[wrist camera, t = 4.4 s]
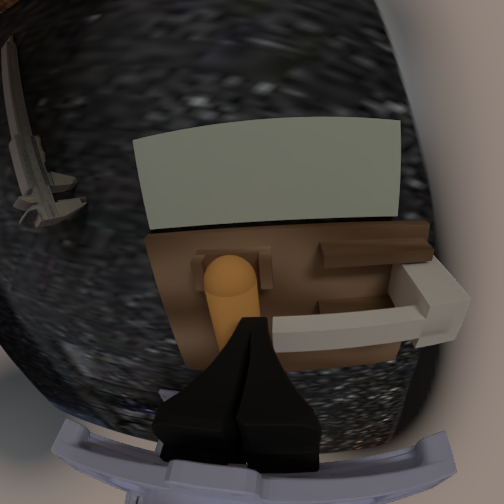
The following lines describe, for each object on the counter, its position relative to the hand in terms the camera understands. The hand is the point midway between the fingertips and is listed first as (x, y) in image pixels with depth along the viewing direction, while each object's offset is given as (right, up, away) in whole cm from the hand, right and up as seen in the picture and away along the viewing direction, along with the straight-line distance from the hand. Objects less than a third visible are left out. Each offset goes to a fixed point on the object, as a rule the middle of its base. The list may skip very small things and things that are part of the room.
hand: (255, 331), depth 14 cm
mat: (+1, +9, +2) cm, 9 cm away
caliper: (-17, +16, 0) cm, 24 cm away
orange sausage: (-1, -1, +5) cm, 5 cm away
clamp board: (+3, 0, +6) cm, 7 cm away
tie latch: (+7, +2, +3) cm, 8 cm away
